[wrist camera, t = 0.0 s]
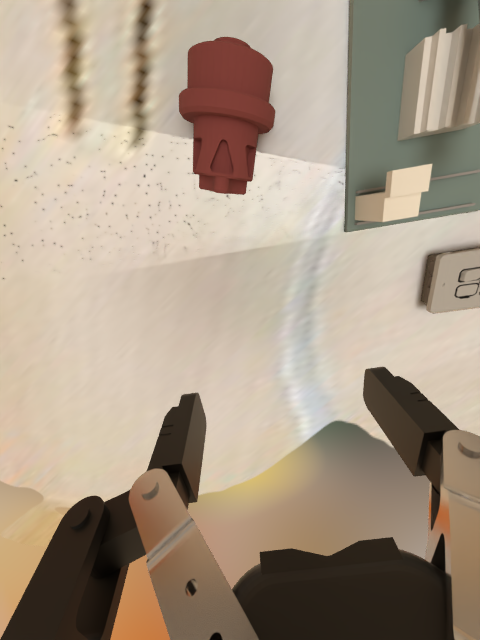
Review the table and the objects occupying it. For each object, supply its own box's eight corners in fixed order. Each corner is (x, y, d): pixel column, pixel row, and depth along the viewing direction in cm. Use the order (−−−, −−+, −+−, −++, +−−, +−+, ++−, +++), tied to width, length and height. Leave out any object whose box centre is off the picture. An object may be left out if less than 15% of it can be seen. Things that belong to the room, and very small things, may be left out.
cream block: (356, 179, 32) (392, 170, 25) (386, 174, 32) (432, 163, 24) (354, 220, 34) (387, 222, 27) (383, 215, 34) (424, 216, 26)
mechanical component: (259, 195, 34) (266, 200, 25) (187, 185, 33) (170, 187, 24) (276, 76, 28) (293, 28, 19) (188, 61, 27) (166, 4, 18)
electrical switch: (494, 306, 37) (439, 318, 36) (461, 295, 42) (412, 306, 41) (514, 243, 33) (453, 256, 32) (475, 239, 38) (421, 251, 37)
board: (350, -33, 25) (391, -117, 18) (552, -76, 24) (668, -181, 17) (344, 231, 35) (368, 236, 29) (483, 208, 35) (539, 207, 28)
